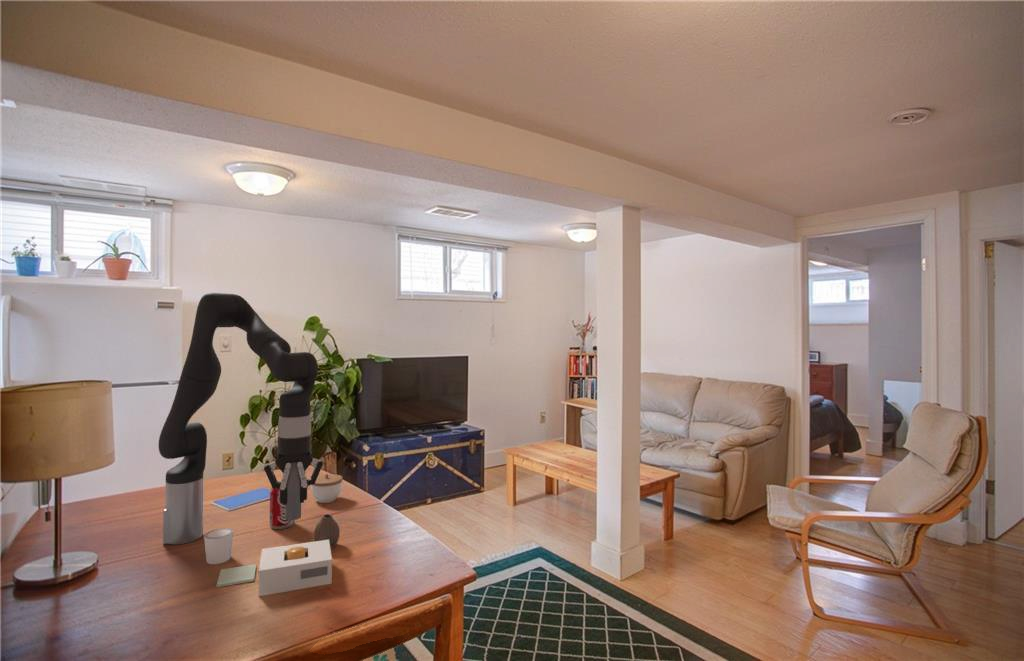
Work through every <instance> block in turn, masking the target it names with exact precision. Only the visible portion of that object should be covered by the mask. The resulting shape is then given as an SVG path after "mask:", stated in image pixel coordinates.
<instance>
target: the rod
mask: <svg viewBox="0 0 1024 661" xmlns="http://www.w3.org/2000/svg"><path fill="white" fill-rule="evenodd" d="M297 463H298V462H291V468H290V472H289V476H288V480H287V483H286V520H295V521H297V520H299V519H301V518H302V503H301V486H302V483H301V479H300V475H299V470H298V466H297Z"/></svg>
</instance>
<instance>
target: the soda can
mask: <svg viewBox="0 0 1024 661" xmlns="http://www.w3.org/2000/svg"><path fill="white" fill-rule="evenodd" d="M269 490H270V499H269V527H271V529H274V530H284V529H285V530H286V529H287V528H290V527H292V526H293V525H294V524H295V521H296V520H286V505H283V503H281V502H280V490H279V489H278V488H272V487H271V488H270V489H269Z"/></svg>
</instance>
